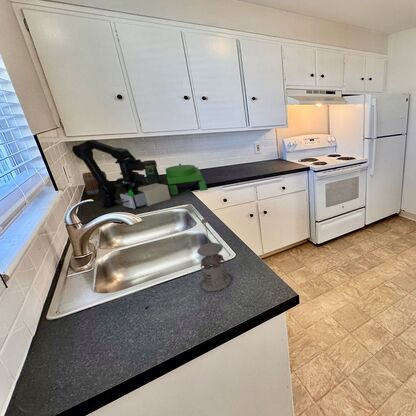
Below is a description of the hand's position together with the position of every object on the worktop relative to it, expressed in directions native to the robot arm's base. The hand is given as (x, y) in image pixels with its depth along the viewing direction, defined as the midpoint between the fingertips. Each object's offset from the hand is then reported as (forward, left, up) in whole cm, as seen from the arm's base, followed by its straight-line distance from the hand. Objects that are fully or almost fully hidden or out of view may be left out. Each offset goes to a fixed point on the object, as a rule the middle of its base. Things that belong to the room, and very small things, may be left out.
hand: (133, 195), depth 167 cm
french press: (-32, -107, -8) cm, 112 cm away
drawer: (0, 0, -7) cm, 7 cm away
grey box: (+11, 0, -8) cm, 13 cm away
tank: (+43, +9, -8) cm, 45 cm away
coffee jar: (+38, +44, -8) cm, 59 cm away
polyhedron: (0, 0, -1) cm, 1 cm away
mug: (+5, +57, -8) cm, 58 cm away
